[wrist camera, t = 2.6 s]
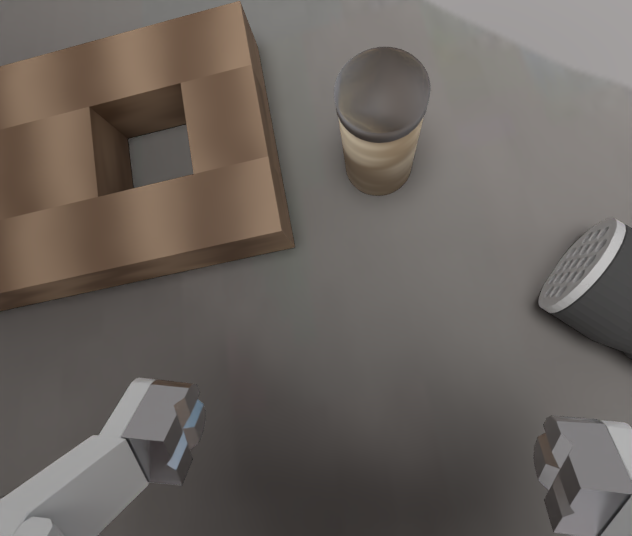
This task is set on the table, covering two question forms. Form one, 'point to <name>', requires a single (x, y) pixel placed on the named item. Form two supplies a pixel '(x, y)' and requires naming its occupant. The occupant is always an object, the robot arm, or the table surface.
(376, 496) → the table surface
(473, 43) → the table surface
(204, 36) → the socket block
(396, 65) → the beech pin
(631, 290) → the flashlight
